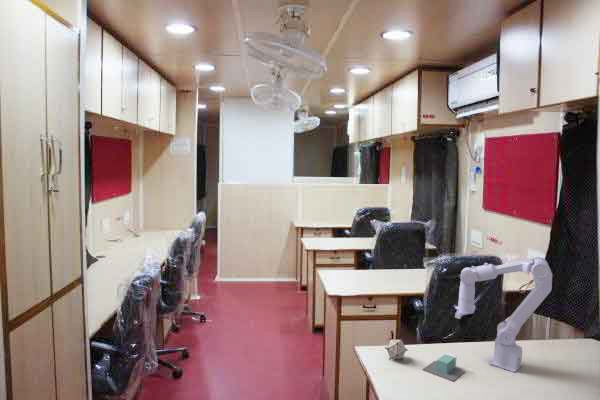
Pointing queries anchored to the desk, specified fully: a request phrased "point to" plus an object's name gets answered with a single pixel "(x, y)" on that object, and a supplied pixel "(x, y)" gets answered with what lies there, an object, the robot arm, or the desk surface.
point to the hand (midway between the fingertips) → (463, 331)
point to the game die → (396, 348)
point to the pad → (449, 376)
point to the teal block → (446, 363)
